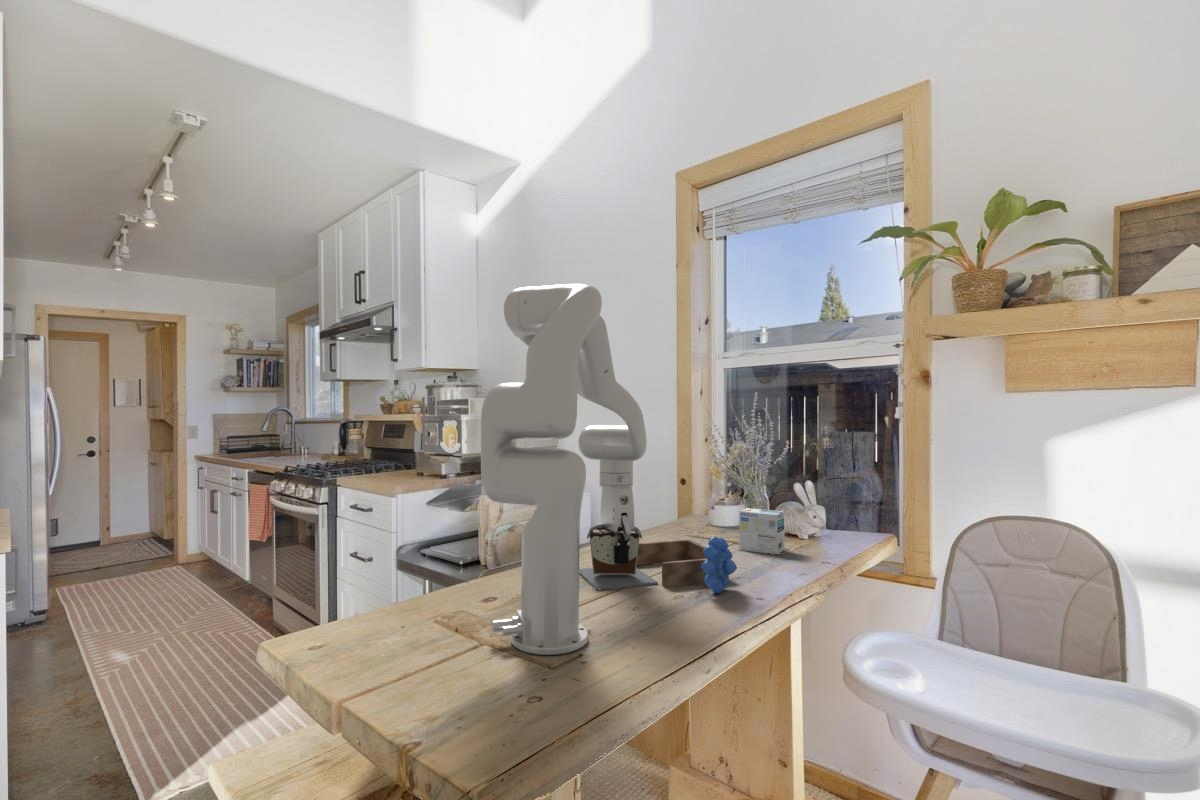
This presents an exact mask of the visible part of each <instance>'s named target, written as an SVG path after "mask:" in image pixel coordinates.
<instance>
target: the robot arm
mask: <svg viewBox="0 0 1200 800" xmlns="http://www.w3.org/2000/svg"><path fill="white" fill-rule="evenodd" d="M602 302H603V300H602V294H601V292H600V290H598V288H596V287H595V286H592V285H590V284H585V283H583V284H582V283H570V284H569V283H567V284H565V283H564V284H554V285H553V284H551V285H542V286H541V285H540V286H526V287H525V286H524V287H519V288H515V289H513V290H511V291H510V292H509V293H508V294H507V296H506V298H505V300H504V304H503V316H504V319H505V322H506V324H507V325H506V326H507V327H508V329H509V330H510V331H511V332H512V334H514V336H516V338H518V339H519V340H520V341H522V342H523V343H524V344H525V345H526V346H527V347H528V348H527V351H526V358H525V359H526V360H525V363H526V365H525V380H524V382H503V383H499V384H496V385H494V386H492V387H491V388H490V389H489V391H488V392H487V393H486V395H485V398H484V400H483V404H482V407H481V414H480V415H481V416H480V478H481V479H480V480H481V486H482V490H483V493H484V494H485V496H486V497H487V498H488V499H489V500H491V501H493V502H495V503H499V504H508V505H509V504H510V505H511V504H512V505H524V506H526V505H528V506H534V507H535V508H536V510H535V511H534V513H533V515H531V517H530V519H528V521H527V522H526V524H525V526H524V527H523V531H522V534H521V587H520V588H521V589H520V590H521V591H520V595H521V596H520V597H521V599H520V602H521V603H520V609H516V615H513V616H510V618H506V619H504V618H499V619H492V620H491V631H492V633H499V632H501V635H502V636H503V637H505V636H511V637H510V638H511V639H510V640H511V643H512V645H513V647H515V648H516V649H518V650H520V651H521V652H525V653H529V654H532V655H540V656H541V655H542V656H543V655H544V656H553V655H554V656H555V655H563V654H567V653H571V652H574V651H577V650H579V649H582V647H584V646H585V645H586V644H587V643H588V640H589V632H588V630H587V628H586V627H584V626H583V625H582V624H581V623H580V575H579V569H580V540H581V539H580V531H581V529H580V528H581V527H580V526H581V525H580V524H581V512H582V506H583V505H582V502H583V499H584V498H583V497H584V491H585V485H586V478H587V470H586V464H585V461H584V460H583V458H582V457H581V456H580V455H579V454H577V453H576V452H574V451H572V450H569V449H564V448H557V447H536V446H535V447H534V446H533V447H528V446H527V447H526V446H525V447H522V446H517V440H539V441H540V440H546V441H547V440H548V441H550V440H553V441H554V440H562V439H566V438H568V437H570V436H572V434H573V433H574V431H575V429H576V427H577V426H576V425H577V420H578V419H577V417H578V395H579V397H582V398H583V399H584V400H588V401H589V402H592V403H594V404H597V405H598V406H602V407H603V408H606V409H608V410H609V411H611V412H614V413H615V414H616V415H618V417H620V418H621V419H622V420H623V421H624V423H625V424H592V425H588V426H586V427H584V428H583V429H582V430H581V433H580V434H579V436H578V448H579V452H580V454H582V456H584V458H586V459H590V460H593V461H595V460H596V461H599V487H601V496H600V497H601V499H600V525H601V524H603V526H604V527H605V528H607V529H609V530H611V531H612V532H614V534H615V541H616V545H614V563H615V564H623V563H628V559H629V539H630V535H631V532H633V531H634V528H635V527H636V526H635V505H634V503H635V502H634V495H633V493H634V492H633V488H632V487H633V486H634V461H639V460H640V459H642V458H643V457H644V455H645V453H646V450H647V433H646V425H645V420H644V419H645V418H644V415H643V411H642V409H641V407H640V405H639V404H638V402H637V400H636V399H635V397H633V395H631V392H630V391H628V390H627V389H626V388H625V387H624V386H623V385H621V384H620V383H619V382H618V381H617V380H616V376H615V369H614V364H613V358H612V353H611V345H610V340H609V334H608V328H607V325H606V324H607V323H606V322H605V320H604V318H603V317H602V316H601V313H602ZM618 529H623V531H618ZM619 534H623V535H621V537H620V539H619Z"/></svg>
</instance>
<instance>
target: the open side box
mask: <svg viewBox="0 0 1200 800" xmlns="http://www.w3.org/2000/svg"><path fill="white" fill-rule="evenodd" d="M705 547H706V546H704V545H702V544H700V543H697V542H696V541H693V540H691V539H689V538H688V539H677V540H666V541H665V540H664V541H652V542H639V548H638V557H637V566H639V565H650V564H651V565H652V564H660V563H661V586H662V587H664V588H665V587H667V588H668V587H675V586H686V585H695V584H705V581H704V578H705V576H706V575H707V574H705V573H704V571H703V570H702V567H701V565H702V563H703V562H704V561H706V560H708V559H707V558H706V557H705V556H704V553H703V550H704V548H705ZM727 578H728V580H729V581H730V575H729V576H727Z"/></svg>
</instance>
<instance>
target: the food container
mask: <svg viewBox="0 0 1200 800" xmlns="http://www.w3.org/2000/svg"><path fill="white" fill-rule="evenodd" d="M618 531H623V529H618ZM621 535H623V534H619V539H620V537H621ZM588 539H589V546H590V553H591V554H590V555H591V564H592V568H593V574H600V575H636V568H637V566H638V565H637V557H638V548H639V543H640V539H641V540H643V536H642V532H641V529H640V528H639V527H637V526H635V528H634V531H633V532H631V535H630V539H629V559H628V563H623V564H615V563H614V545H616V541H615V534H614V532H612V531H611V530H609V529H607V528H605V527H604V526H603V524H601V523H600V524H598V525H593V526H592V527H590V528H589V530H588V532H587V536H586V540H588Z"/></svg>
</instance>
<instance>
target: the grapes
mask: <svg viewBox="0 0 1200 800" xmlns="http://www.w3.org/2000/svg"><path fill="white" fill-rule="evenodd" d="M707 544H708V545H707V546H704V547H705V548H704V550H703V553H704V556H705V557H706V558H707V559H708V560H706V561H704V562H703V563H702V565H701V567H702V570H703V571H704V573H705V574H707V575H706V576H705V578H704V581H705V583H704V584H705V586H707V587H708V588H709V589H711V591H712V592H713V593H714V594H720V593H721V592H723V590H724V589H726V588H727V587H728V586H729V585H730V584H731V582H730V579H729V580H728V578H727V576H729V577H730V575H732V574H734V573H735V571H737V569H738V566H737V564H736V562H735V561H734V560H732V558H733V557H734V556H733V554H732V552H731V550H730V549H729V547H730V545H729V543H728V542H727V540H726V539H725V538H723V537H718V536H712V537H711V538H709V540H708V542H707Z"/></svg>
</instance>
